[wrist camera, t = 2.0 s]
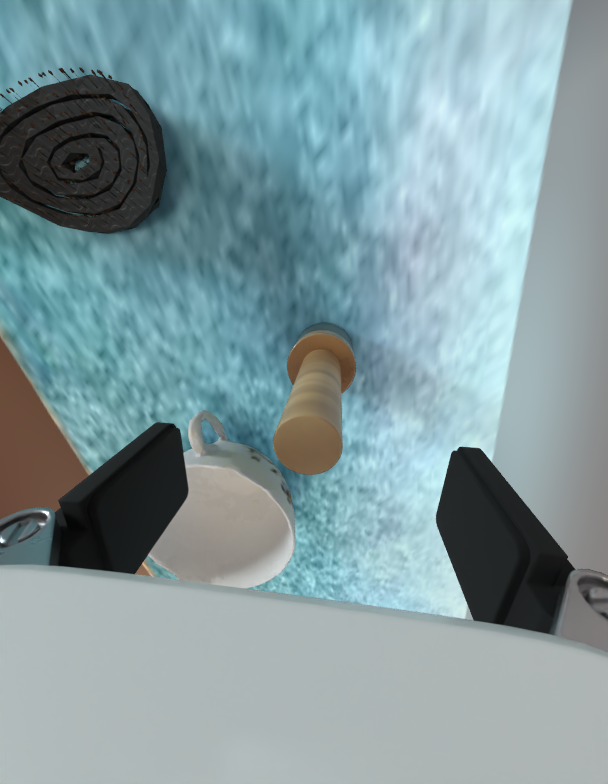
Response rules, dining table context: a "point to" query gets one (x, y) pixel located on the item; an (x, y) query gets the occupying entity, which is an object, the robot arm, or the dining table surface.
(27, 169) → the hairbrush
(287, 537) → the teacup
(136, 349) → the dining table surface
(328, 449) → the dish brush
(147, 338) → the dining table surface
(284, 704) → the robot arm
